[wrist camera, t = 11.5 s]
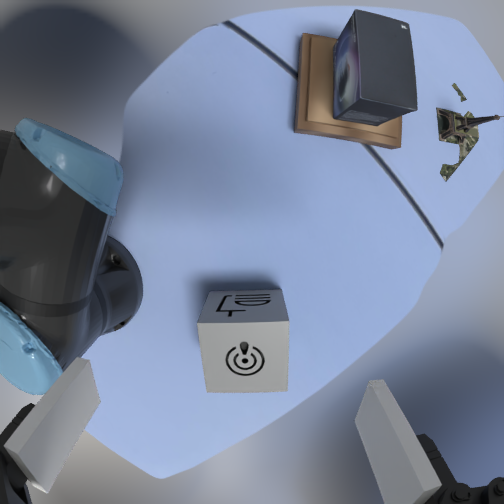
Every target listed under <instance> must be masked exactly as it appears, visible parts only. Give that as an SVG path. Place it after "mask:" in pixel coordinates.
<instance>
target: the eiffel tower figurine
mask: <svg viewBox="0 0 504 504" xmlns="http://www.w3.org/2000/svg"><path fill="white" fill-rule="evenodd" d="M452 86H453V88H454V89H455V90H456V91H457V92H458V95H459V96H461V102H462V101H465V100H467V99H466V98H465V96H464V95H463V93H462V92H461V91H460V89H459V88H458V87H457V85H456V84H455V83H454V84H453V85H452ZM436 110H437V120H438V131H439V141H444V142H450V143H455V144H459V147H460V156H459V163H457V164H454V165H447V164H443V165H442V168H441V171H440V174H441V176H442V177H443V178H444V180H445V181H447V180H448V179H449V178H450V176H451V175H452V174H453V173H454V171H455V170H456V169H457V168H458V166H459V165H460V164H461V163H462V161H463V160H464V159H465V157H466V156H467V155H468V154H469V152H470V151H471V150H472V148H473V147H474V146H475V144H476V143H477V141H478V139H479V133H478V125H479V124H482V123H485V122H489V121H492V120H499V119H500V117H504V116H498V115H495V116H489V117H478V118H475V117H474V116H473V115H472V113H470V112H469V111H468V112H467V113H466V114H465V115H464V117H463V116H461V114H460V113H456V112H453V111H449V110H445V109H441V108H437V107H436Z"/></svg>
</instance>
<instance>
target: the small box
mask: <svg viewBox="0 0 504 504" xmlns="http://www.w3.org/2000/svg"><path fill="white" fill-rule="evenodd" d="M417 110H418V109H417V89H416V75H415V65H414V56H413V48H412V40H411V34H410V28H409V24H408V23H406V22H403V21H399V20H396V19H393V18H390V17H386V16H382V15H379V14H375V13H371V12H367V11H362V10H358V9H355V10H354V12H353V14H352V16H351V18H350V19H349V21H348V23H347V24H346V26H345V28H344V30H343V31H342V33H341V35H340V36H339V38H338V40H337V41H336V43H335V45H334V46H333V119H335V120H341V121H348V122H354V123H360V124H366V125H372V126H379V125H381V124H383V123H385V122H388V121H390V120H393V119H395V118H398V117H400V116H402V115H404V114H407V113H410V112H414V111H417Z"/></svg>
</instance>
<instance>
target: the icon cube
mask: <svg viewBox="0 0 504 504" xmlns="http://www.w3.org/2000/svg"><path fill="white" fill-rule="evenodd" d="M197 327H198V335H199V342H200V350H201V357H202V364H203V371H204V377H205V384H206V390H207V392H212V393H257V392H282V391H287V390H288V360H289V318H288V313H287V309H286V305H285V301H284V297H283V293H282V289H272V290H240V291H210V292H209V294H208V297H207V299H206V302H205V304H204V307H203V309H202V312H201V314H200V317H199V320H198V322H197Z"/></svg>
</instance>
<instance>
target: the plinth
mask: <svg viewBox="0 0 504 504" xmlns="http://www.w3.org/2000/svg"><path fill="white" fill-rule="evenodd" d="M337 40H338V39H335V38H330V37H325V36H319V35H313V34H307V33H303V35H302V37H301V40H300V51H299V69H298V85H297V101H296V115H295V128H294V133H301V134H309V135H316V136H323V137H329V138H336V139H342V140H347V141H353V142H358V143H364V144H369V145H374V146H378V147H383V148H387V149H396V148H401V135H402V116H400V117H398V118H395V119H393V120H390V121H388V122H385V123H383V124H381V125H379V126H372V125H366V124H360V123H354V122H348V121H341V120H335V119H333V46H334V45H335V43H336V41H337Z"/></svg>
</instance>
